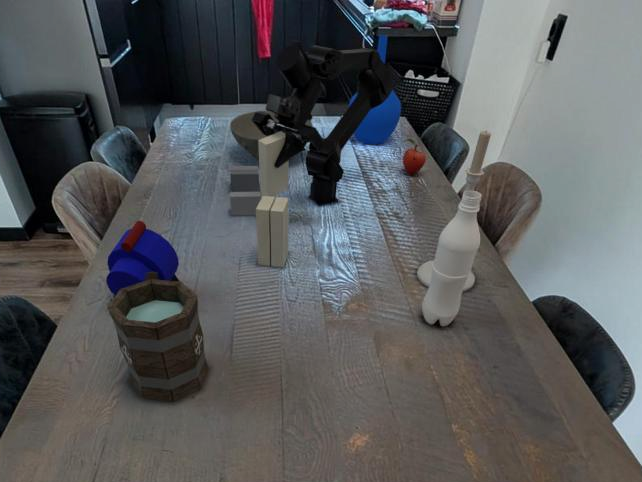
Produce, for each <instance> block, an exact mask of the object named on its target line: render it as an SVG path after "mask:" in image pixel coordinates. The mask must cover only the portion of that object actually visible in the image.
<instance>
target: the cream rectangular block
mask: <svg viewBox="0 0 642 482" xmlns="http://www.w3.org/2000/svg"><path fill="white" fill-rule="evenodd" d="M284 143H285V133H284V132H282V131H280V132H278V133H275V134H273V135H270V136H268V137H265V138H263V139H260V140H258V145H259V158H258V170H259V192H260V193H261V197H262V196H271V197H276V196H278V195H279V194H282V193H284V192H286V191H288V190H289V188H290V187H289V175H290V170H289V169H290V166H289V165H290V159H289V160H288V161H287V162H285V163H284V164H283V165H281V166H280V167H279V168H276V167H275V163H276V160H277V158H278V156H279V153H280V151H281V149H282V147H283V145H284Z"/></svg>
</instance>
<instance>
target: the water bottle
mask: <svg viewBox="0 0 642 482" xmlns="http://www.w3.org/2000/svg"><path fill="white" fill-rule="evenodd" d="M463 193H464V194H463ZM463 193H462V197H461V200H462V201H461V200H460V202H459V204H458V205H457V212H456V214H455V215H454V216H453V218H452V219H451V220H450V221H449V222H448V224H447V225H445V227H444V228H443V229H442V231H441V232H440V235H439V237H438V241H437V242H438V243H437V247H436V251H435V255H434V259H433V260H434V263H433V265H432V276H431V281H430V285H429V287H427V291H426V293H425V296H424V298H423V299H422V304H421V313H422V316H423V318H424V320H425V322H426V323H428V324H429V325H434V324H435V323H436V322H437V321H439V326H441V327H446V326H449V325H450V324H451V323H452V322H453V320H454V319H455V318H456V316H457V315H458V313H459V311H460V307H461V299H462V294H463V292H464V291H463V288H464V285H465V282H466V280H467V278H468V276H469V274H470V273H471V271H472V269H473V265H474V262H475V259H476V256H477V253H478V250H479V248H480V244H481V233H480V228H479V223H478V212H480V206H481V201H482V197H483V196H482V195H483V194H482V193H480V192H479V191H475V190H474V191H465V192H464V191H463ZM458 209H459V210H458ZM462 291H463V292H462Z"/></svg>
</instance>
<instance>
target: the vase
mask: <svg viewBox="0 0 642 482" xmlns="http://www.w3.org/2000/svg"><path fill="white" fill-rule="evenodd" d="M388 37H389V36H388V35H386V34H380V35H379V36H378V42H377V50H376V51H377V52H379V54H380V57H381V60H382V61H383V63H384V64H385V63H386V55H387V45H388ZM385 65H386V64H385ZM356 97H357V92H355V94H354V95H353V96H352V97H351V98H350V101H349V103H348V107H347V109H348V108H349V106H350V105H351V104H352V102H353V101H354V99H355V98H356ZM401 113H402V102H401V100H400V99H399V97H398V96H397V94H396V93H395V91H394V88H393V89H392V92H391V94H390V95H389V97H388V98H387V99H386V100H385V101H384V102H383V103H382V104H381V105H379V106H377V107H375V108H373V109H371V110H370V111H369V113H368V114H367V115H366V117H365V118H364V120H363V121H362V122H361V124H360V125H359V127H358V128H357V129H356V131H355V132H354V133H353V136H354V137H355V139H356V140H357V141H358V142H360V143H362V144H367V145H379V144H383V143H384V142H386V141H387V140H388V139H389V138H391V136H392V134H393V133H394V132H395V130H396V128H397V126H398V124H399V122H400V119H401Z"/></svg>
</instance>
